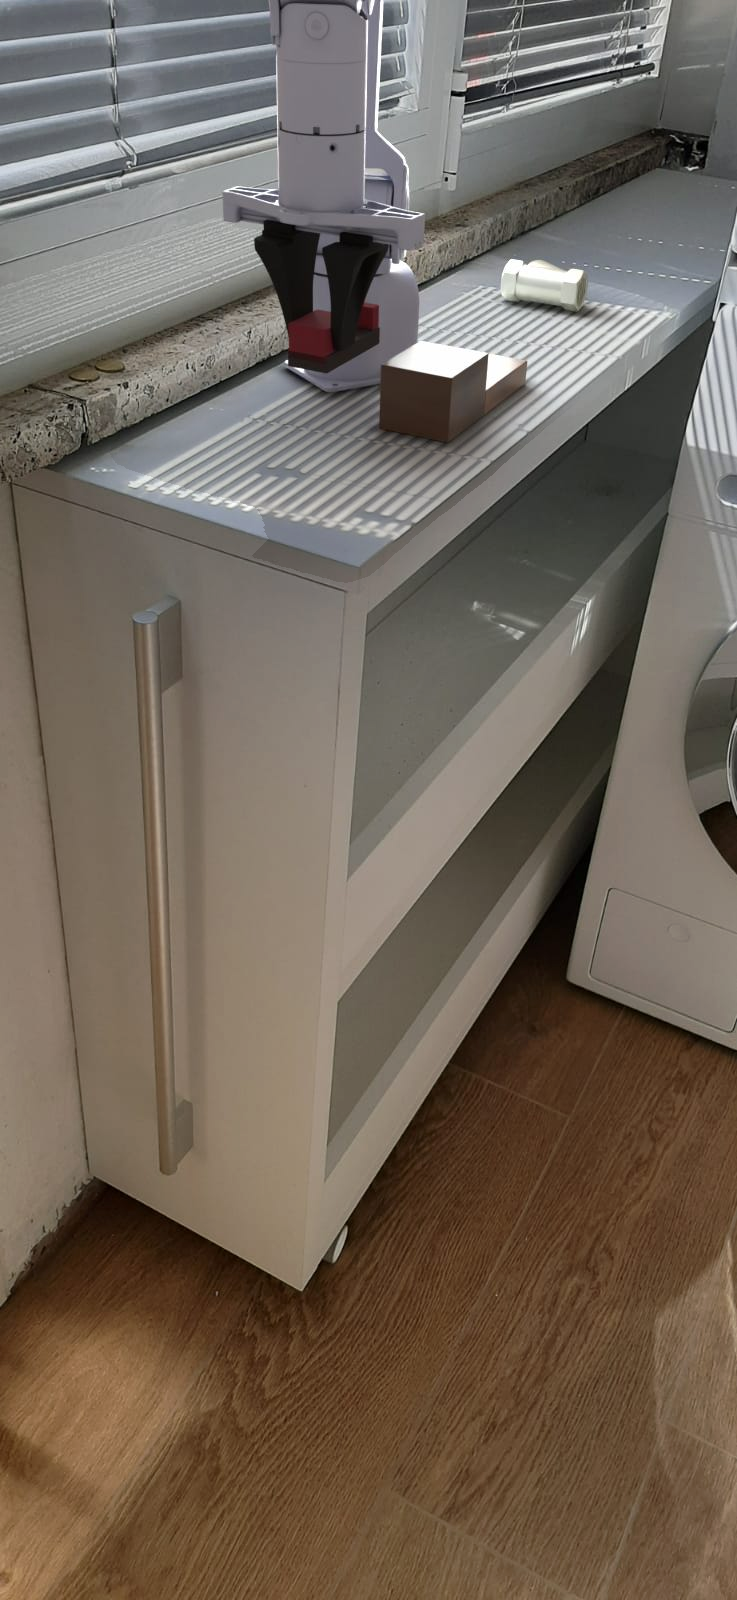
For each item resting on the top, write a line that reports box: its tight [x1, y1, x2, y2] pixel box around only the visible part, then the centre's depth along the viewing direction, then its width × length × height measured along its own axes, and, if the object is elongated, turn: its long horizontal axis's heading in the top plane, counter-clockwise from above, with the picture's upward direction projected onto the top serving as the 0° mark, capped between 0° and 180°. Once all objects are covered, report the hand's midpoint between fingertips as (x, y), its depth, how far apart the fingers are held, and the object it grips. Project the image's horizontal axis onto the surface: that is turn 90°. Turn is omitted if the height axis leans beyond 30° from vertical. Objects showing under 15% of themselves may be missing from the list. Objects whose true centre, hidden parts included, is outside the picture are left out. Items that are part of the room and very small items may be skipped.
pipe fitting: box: [500, 258, 589, 313], centre depth 128 cm, size 8×4×7 cm
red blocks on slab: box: [287, 302, 380, 374], centre depth 91 cm, size 8×3×3 cm, turn 152°
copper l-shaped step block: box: [378, 340, 528, 444], centre depth 102 cm, size 16×6×5 cm, turn 152°
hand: (321, 342), depth 89 cm, fingers closed on red blocks on slab, 3 cm apart
